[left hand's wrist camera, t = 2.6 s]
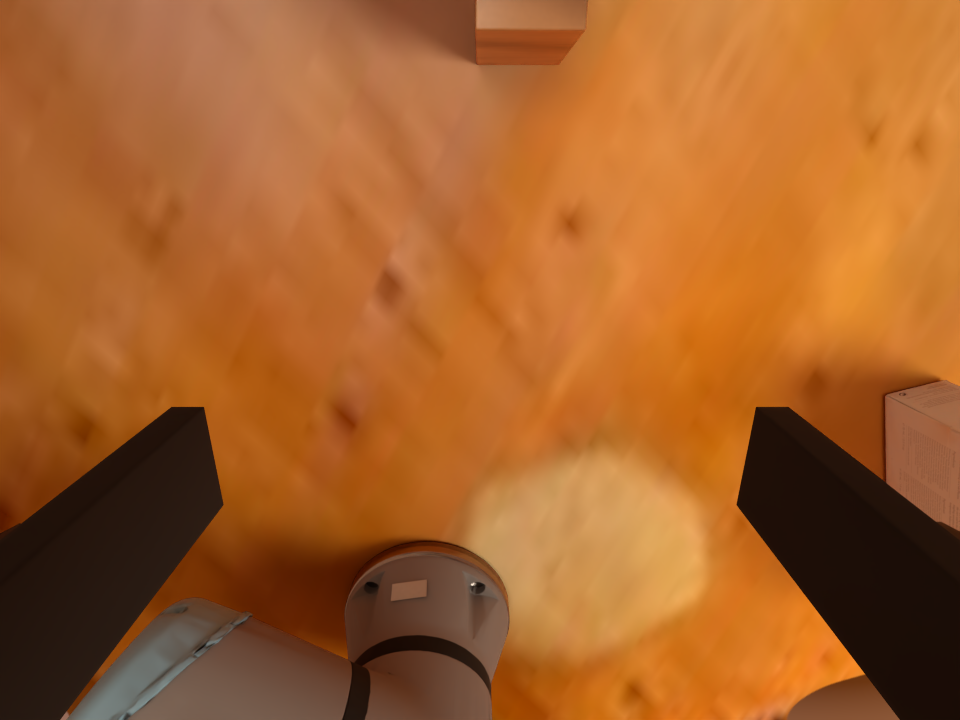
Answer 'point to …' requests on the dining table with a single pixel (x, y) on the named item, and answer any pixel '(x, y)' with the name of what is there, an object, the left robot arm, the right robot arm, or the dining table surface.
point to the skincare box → (925, 448)
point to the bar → (527, 30)
